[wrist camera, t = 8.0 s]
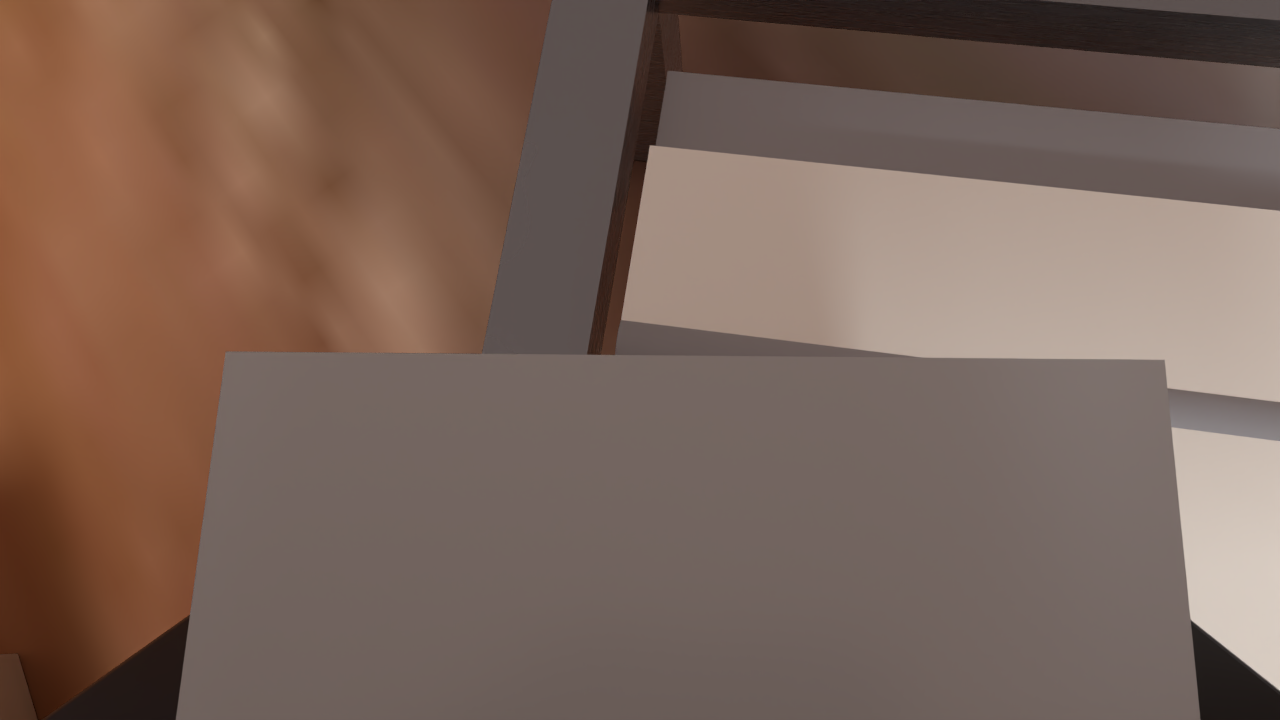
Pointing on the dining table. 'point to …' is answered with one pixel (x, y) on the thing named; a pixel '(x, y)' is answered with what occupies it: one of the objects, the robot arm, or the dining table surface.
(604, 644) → the gray rectangular block
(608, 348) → the dining table surface
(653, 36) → the frame
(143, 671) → the robot arm
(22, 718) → the stand
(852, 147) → the trapdoor
